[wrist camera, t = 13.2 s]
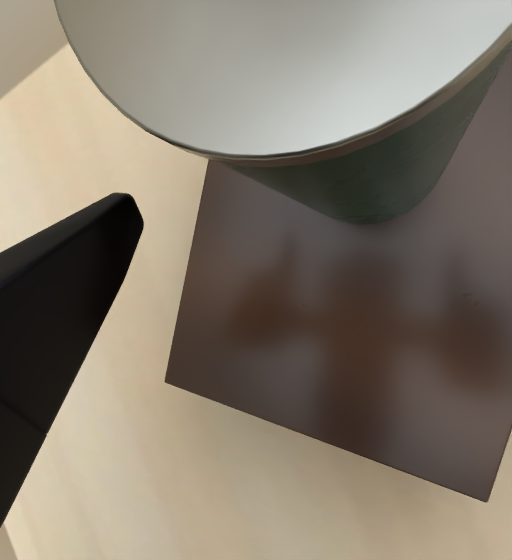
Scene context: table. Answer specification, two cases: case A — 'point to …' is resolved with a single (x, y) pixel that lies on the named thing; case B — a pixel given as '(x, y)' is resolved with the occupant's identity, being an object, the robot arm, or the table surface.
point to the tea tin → (302, 87)
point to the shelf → (365, 313)
